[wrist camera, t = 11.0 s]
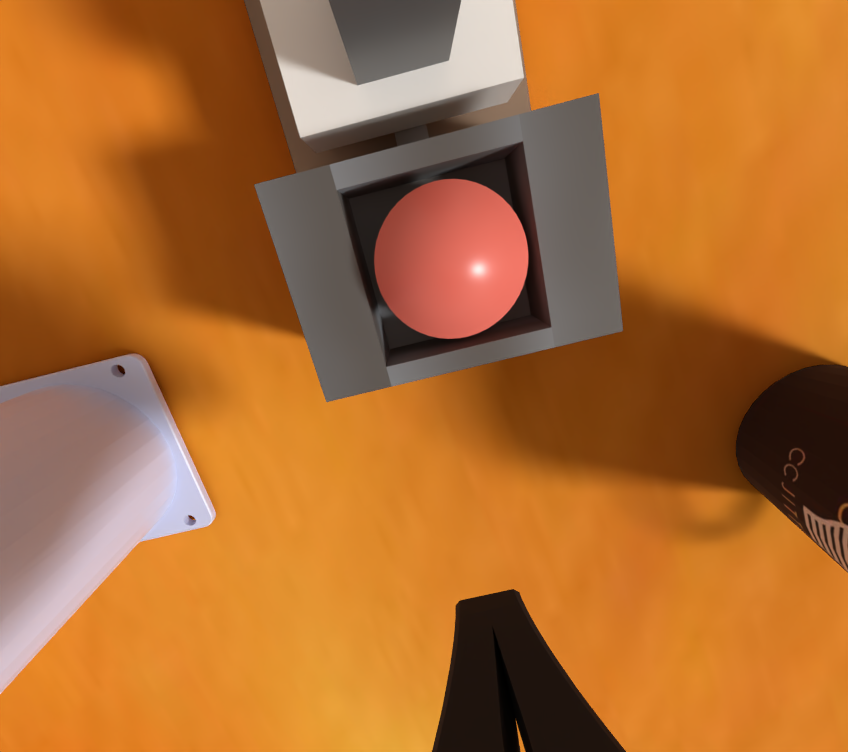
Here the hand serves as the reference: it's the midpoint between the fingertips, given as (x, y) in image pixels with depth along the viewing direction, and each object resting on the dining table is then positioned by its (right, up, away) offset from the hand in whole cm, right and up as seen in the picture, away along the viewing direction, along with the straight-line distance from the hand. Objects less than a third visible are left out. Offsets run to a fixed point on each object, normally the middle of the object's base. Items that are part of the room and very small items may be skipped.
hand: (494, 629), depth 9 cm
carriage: (-2, +15, +3) cm, 16 cm away
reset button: (-1, +9, +1) cm, 9 cm away
